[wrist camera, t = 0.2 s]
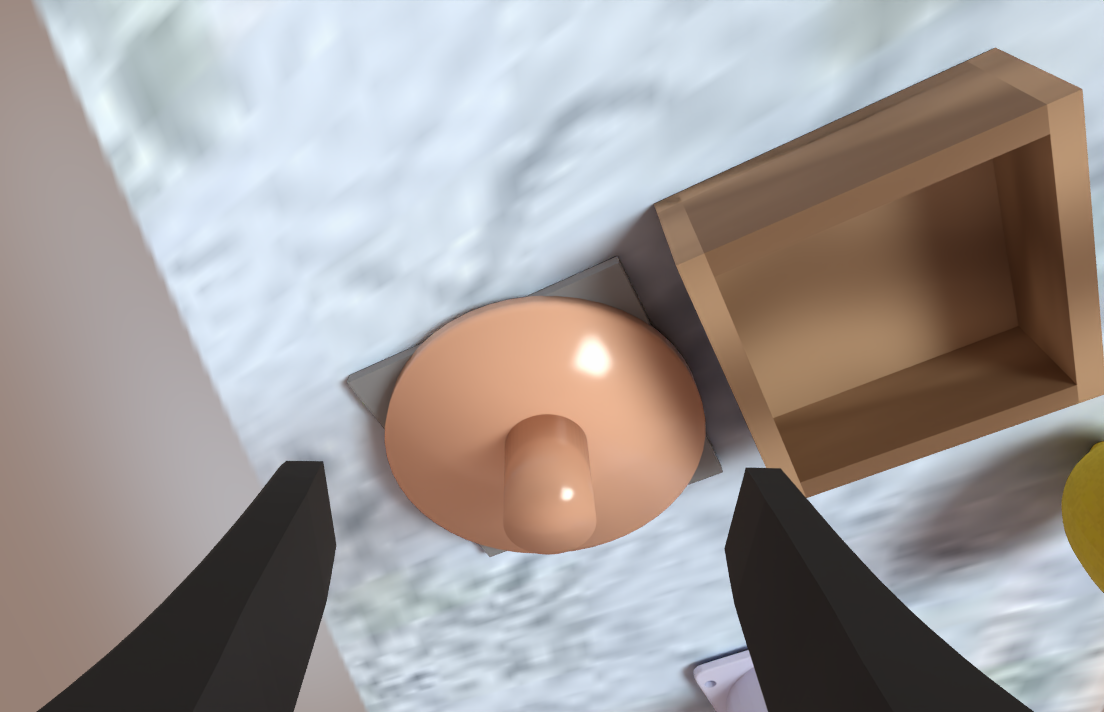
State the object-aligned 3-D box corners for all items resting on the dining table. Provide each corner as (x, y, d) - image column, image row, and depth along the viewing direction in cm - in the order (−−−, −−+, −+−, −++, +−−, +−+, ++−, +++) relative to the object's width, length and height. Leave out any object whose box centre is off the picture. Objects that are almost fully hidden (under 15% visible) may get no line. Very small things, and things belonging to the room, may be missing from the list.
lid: (741, 476, 26) (773, 569, 23) (484, 568, 28) (480, 666, 25) (628, 240, 21) (649, 318, 18) (323, 376, 23) (292, 469, 20)
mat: (720, 464, 26) (723, 472, 26) (490, 548, 28) (489, 557, 28) (617, 256, 22) (619, 262, 21) (349, 375, 24) (346, 383, 23)
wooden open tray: (1034, 323, 23) (1106, 393, 21) (753, 428, 26) (783, 506, 23) (995, 47, 19) (1081, 89, 16) (653, 203, 21) (676, 265, 18)
